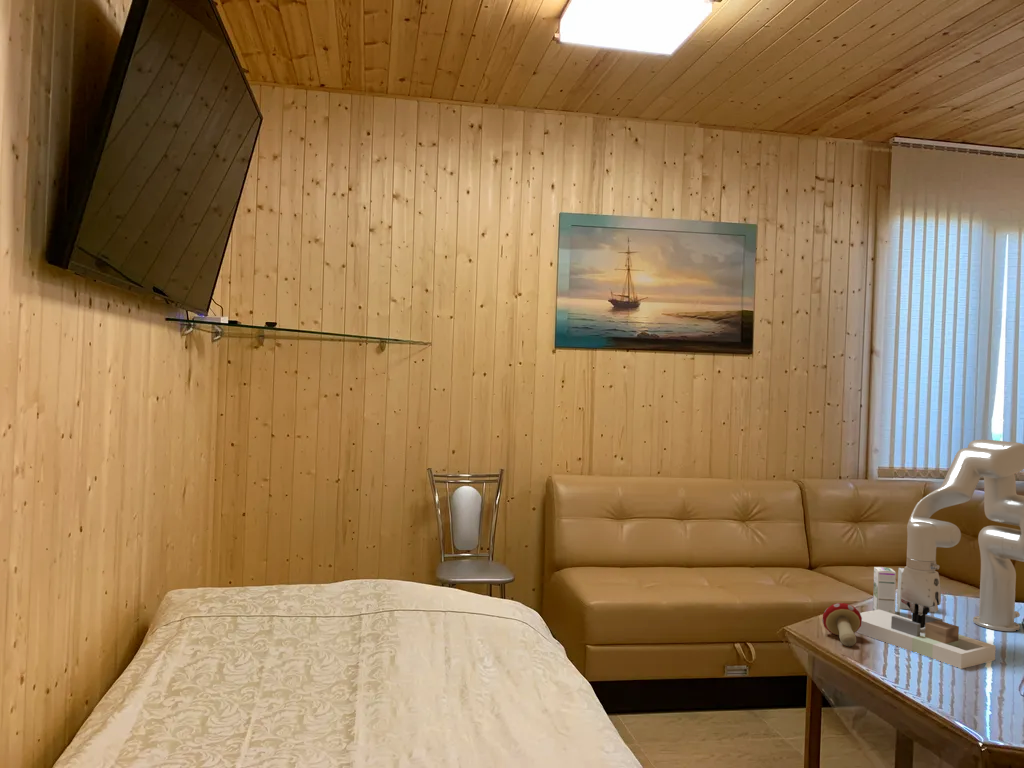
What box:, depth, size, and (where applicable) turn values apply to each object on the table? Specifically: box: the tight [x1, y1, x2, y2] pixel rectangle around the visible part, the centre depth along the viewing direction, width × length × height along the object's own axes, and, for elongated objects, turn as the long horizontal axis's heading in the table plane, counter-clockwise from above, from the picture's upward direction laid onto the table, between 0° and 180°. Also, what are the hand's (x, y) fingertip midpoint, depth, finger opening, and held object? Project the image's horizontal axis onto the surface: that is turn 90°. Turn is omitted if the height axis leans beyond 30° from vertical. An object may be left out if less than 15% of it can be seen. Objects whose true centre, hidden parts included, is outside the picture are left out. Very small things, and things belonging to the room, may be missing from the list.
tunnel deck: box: [855, 609, 997, 670], centre depth 226 cm, size 16×36×8 cm, turn 29°
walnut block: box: [925, 620, 960, 644], centre depth 219 cm, size 6×6×4 cm
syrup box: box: [872, 566, 897, 615], centre depth 257 cm, size 6×6×14 cm
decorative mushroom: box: [821, 602, 862, 647], centre depth 227 cm, size 11×11×15 cm
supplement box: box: [896, 567, 920, 611], centre depth 263 cm, size 7×7×13 cm
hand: (918, 627), depth 226 cm, fingers closed
